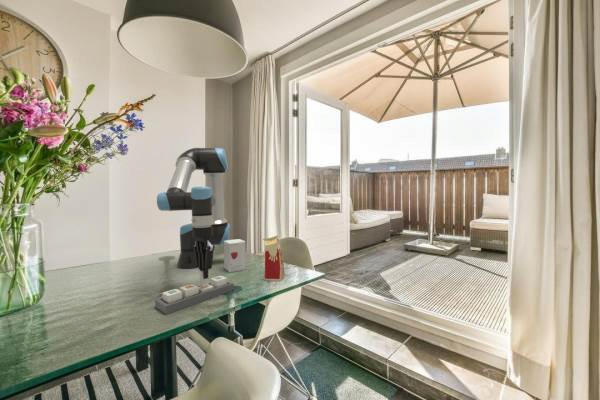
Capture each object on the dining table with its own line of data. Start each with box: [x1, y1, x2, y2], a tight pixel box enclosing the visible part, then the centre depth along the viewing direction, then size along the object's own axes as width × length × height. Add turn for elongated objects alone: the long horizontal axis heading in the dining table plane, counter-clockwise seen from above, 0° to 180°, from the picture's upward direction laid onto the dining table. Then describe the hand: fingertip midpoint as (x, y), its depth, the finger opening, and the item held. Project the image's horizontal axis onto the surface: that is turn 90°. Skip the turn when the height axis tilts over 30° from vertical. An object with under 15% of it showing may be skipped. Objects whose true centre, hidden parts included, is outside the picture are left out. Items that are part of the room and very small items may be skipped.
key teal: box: [161, 288, 182, 303], centre depth 94 cm, size 5×5×3 cm
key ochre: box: [198, 285, 213, 293], centre depth 103 cm, size 5×5×3 cm
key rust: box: [179, 283, 199, 298], centre depth 98 cm, size 5×5×3 cm
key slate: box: [209, 275, 228, 288], centre depth 108 cm, size 5×5×3 cm
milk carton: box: [262, 235, 286, 282], centre depth 123 cm, size 9×9×20 cm
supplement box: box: [223, 238, 247, 273], centre depth 137 cm, size 9×9×15 cm
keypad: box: [154, 280, 235, 315], centre depth 101 cm, size 9×27×3 cm, turn 139°
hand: (204, 286), depth 103 cm, fingers closed
